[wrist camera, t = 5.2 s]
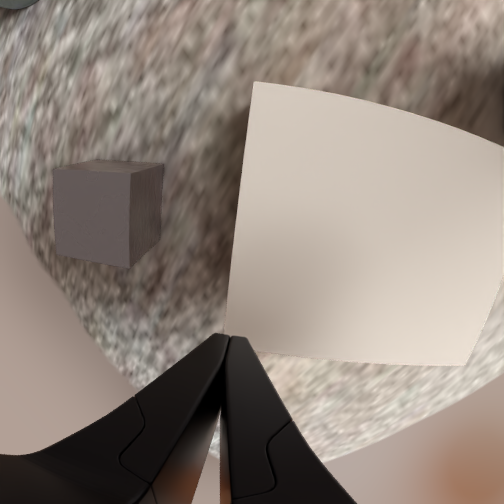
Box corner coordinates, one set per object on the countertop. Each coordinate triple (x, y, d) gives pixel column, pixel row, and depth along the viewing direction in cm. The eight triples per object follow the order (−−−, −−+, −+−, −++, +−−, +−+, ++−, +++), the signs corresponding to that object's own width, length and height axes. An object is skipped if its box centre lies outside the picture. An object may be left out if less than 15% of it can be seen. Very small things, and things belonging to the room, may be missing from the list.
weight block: (164, 163, 19) (130, 173, 15) (160, 239, 21) (129, 268, 16) (97, 159, 19) (52, 169, 15) (96, 230, 21) (56, 254, 16)
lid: (524, 158, 12) (531, 160, 11) (460, 359, 16) (464, 365, 15) (254, 83, 12) (254, 81, 11) (224, 339, 16) (222, 346, 15)
